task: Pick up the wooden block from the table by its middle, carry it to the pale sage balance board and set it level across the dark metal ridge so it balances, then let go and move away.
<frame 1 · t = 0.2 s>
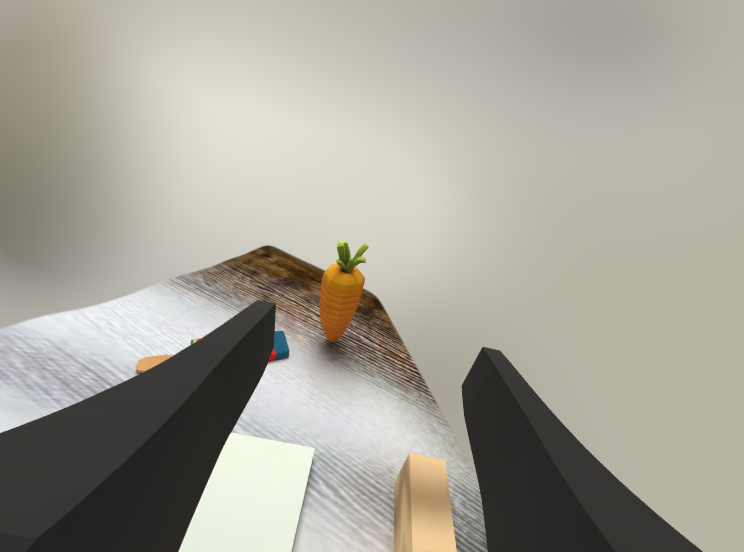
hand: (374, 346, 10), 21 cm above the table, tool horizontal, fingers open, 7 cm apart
popsicle: (219, 360, 35), on the table
carrot: (330, 342, 41), on the table
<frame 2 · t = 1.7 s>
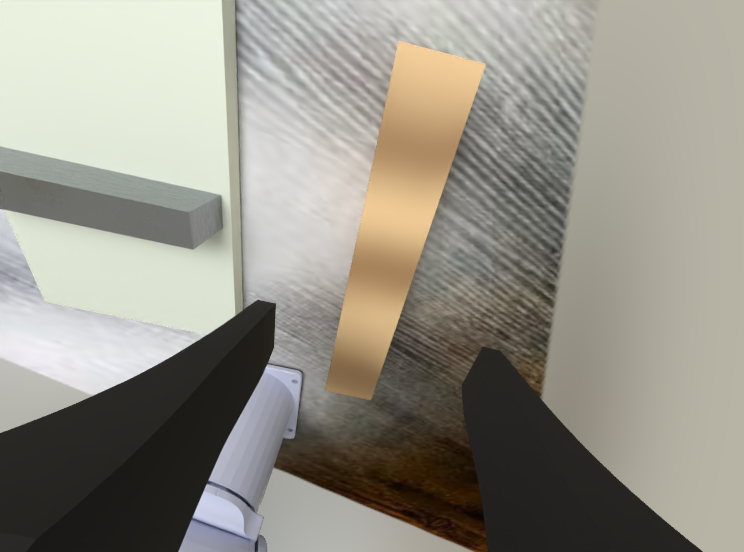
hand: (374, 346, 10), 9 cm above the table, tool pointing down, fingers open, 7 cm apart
wooden block: (384, 237, 19), on the table
balance stand: (124, 181, 18), on the table
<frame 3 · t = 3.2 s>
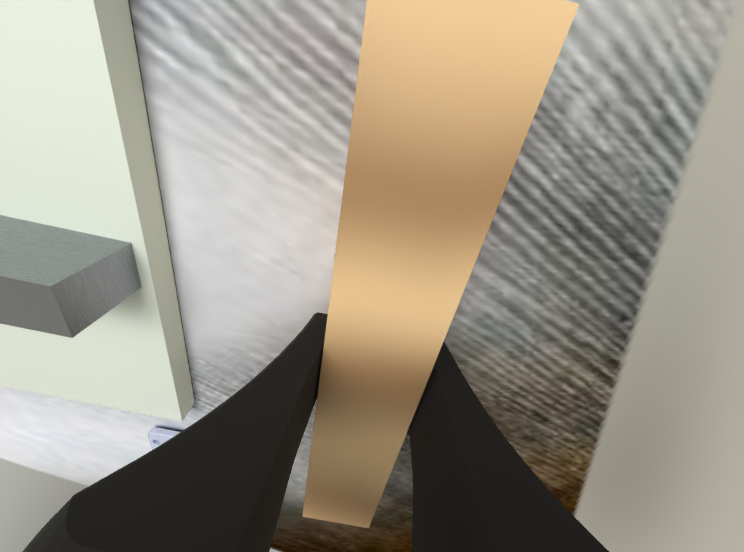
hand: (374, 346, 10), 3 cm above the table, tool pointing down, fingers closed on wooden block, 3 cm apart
wooden block: (379, 296, 13), on the table, touching gripper
balance stand: (0, 218, 12), on the table
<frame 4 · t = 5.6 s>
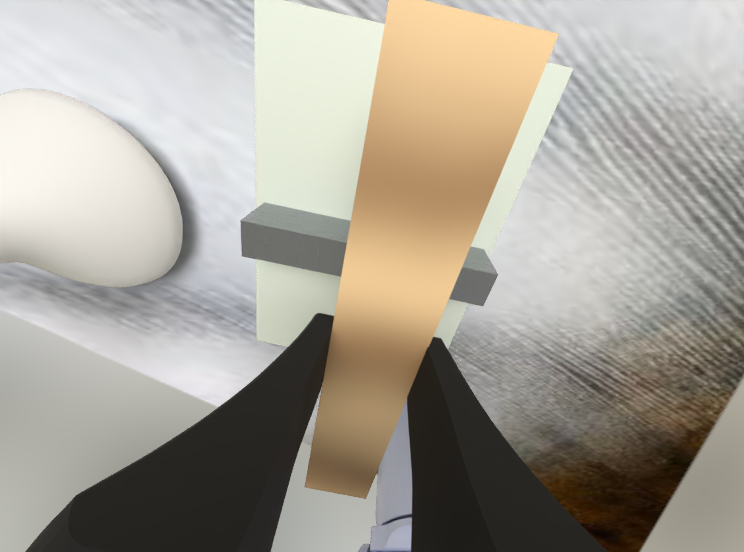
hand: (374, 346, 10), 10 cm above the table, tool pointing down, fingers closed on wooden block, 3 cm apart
wooden block: (380, 284, 14), point 6 cm above the table, touching gripper
flower in vase: (113, 206, 20), on the table
balance stand: (373, 233, 19), on the table
when the fingers open (8 cm above the table, at t = 7.4 s): wooden block stays where it is, resting on balance stand.
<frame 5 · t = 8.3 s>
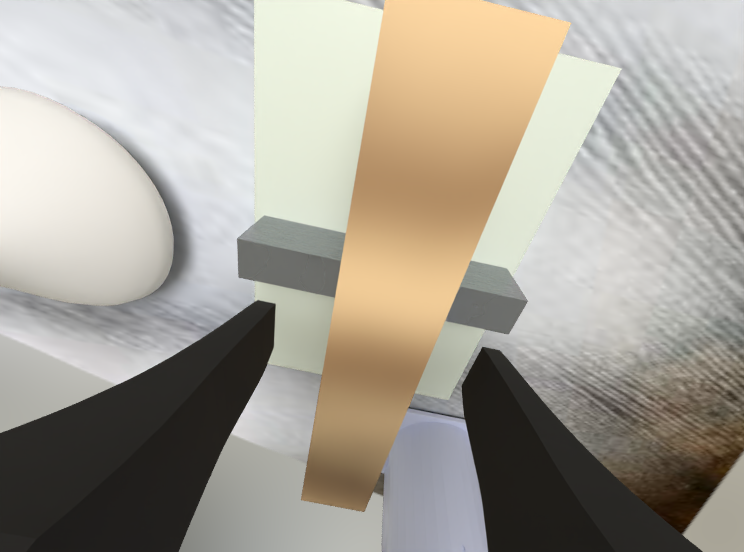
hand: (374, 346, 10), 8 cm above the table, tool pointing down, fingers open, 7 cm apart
wooden block: (379, 289, 14), point 4 cm above the table, touching balance stand
flower in vase: (98, 216, 18), on the table
balance stand: (384, 249, 17), on the table
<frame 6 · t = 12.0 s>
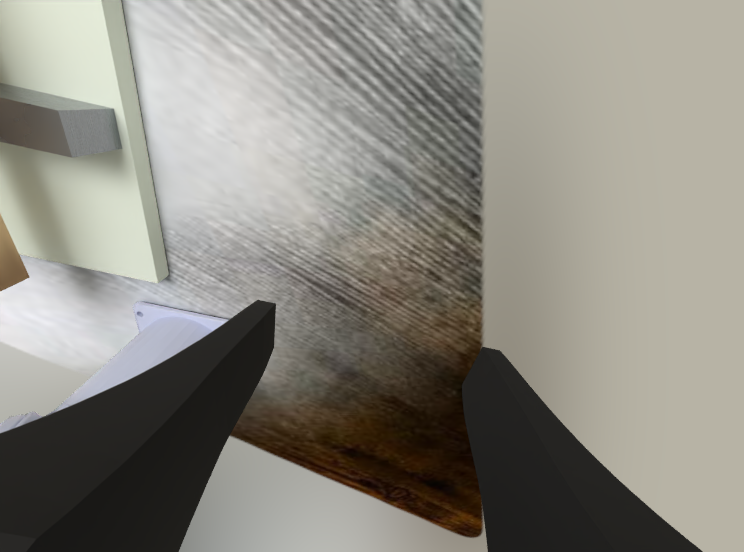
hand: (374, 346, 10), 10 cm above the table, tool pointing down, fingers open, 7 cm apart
balance stand: (20, 101, 17), on the table
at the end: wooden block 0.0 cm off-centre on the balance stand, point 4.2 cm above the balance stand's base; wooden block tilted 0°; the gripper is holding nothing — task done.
